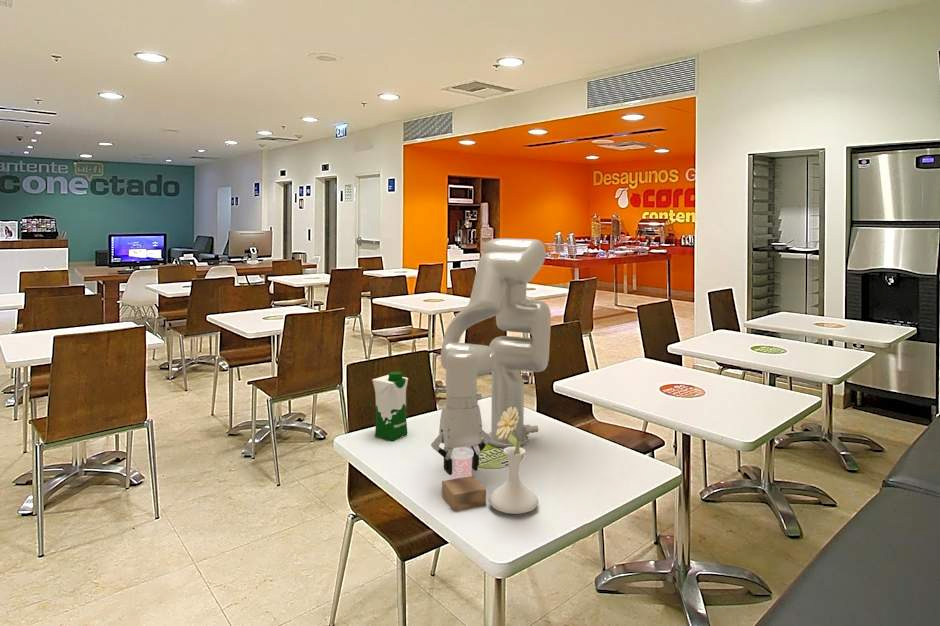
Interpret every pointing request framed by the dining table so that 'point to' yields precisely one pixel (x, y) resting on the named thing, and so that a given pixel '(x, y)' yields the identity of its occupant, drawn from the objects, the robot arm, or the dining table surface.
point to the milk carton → (391, 406)
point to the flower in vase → (512, 472)
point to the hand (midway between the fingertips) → (461, 470)
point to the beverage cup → (461, 462)
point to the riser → (463, 493)
